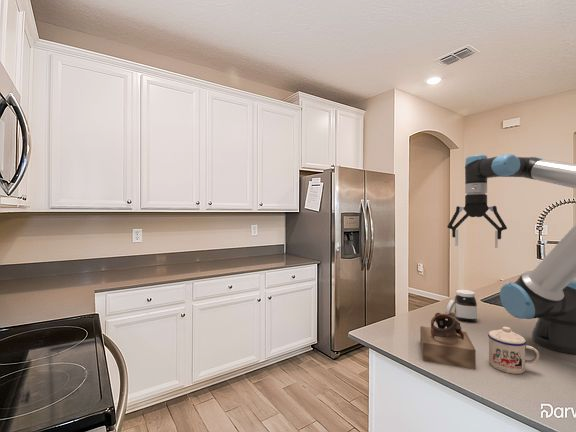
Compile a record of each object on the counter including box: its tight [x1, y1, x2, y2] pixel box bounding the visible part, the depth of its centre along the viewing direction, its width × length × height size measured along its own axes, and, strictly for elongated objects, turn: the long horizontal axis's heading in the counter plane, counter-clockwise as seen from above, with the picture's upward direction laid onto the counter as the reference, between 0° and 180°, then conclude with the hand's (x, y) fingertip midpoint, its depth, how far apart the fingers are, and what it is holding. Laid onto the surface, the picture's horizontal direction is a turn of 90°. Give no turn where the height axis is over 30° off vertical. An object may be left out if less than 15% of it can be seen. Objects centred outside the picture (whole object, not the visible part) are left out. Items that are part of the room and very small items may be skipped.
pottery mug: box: [430, 312, 464, 339], centre depth 96 cm, size 12×10×8 cm
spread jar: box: [444, 289, 478, 323], centre depth 128 cm, size 12×11×12 cm
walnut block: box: [419, 325, 477, 370], centre depth 95 cm, size 14×14×6 cm
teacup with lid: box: [487, 326, 540, 375], centre depth 87 cm, size 12×9×12 cm
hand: (475, 246), depth 120 cm, fingers open, 13 cm apart
